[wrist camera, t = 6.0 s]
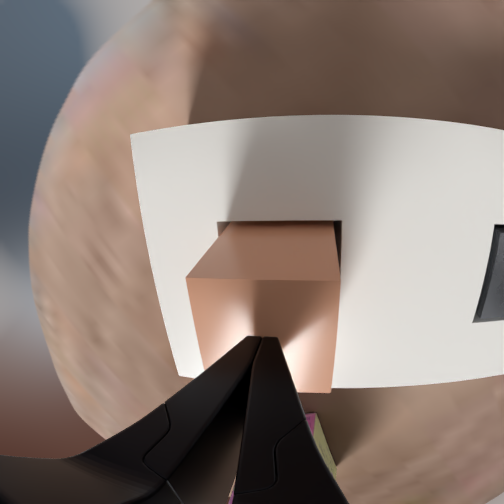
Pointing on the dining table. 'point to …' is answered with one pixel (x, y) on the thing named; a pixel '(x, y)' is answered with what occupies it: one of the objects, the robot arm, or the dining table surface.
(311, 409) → the dining table surface
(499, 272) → the metallic grey block
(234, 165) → the white rectangular block
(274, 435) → the robot arm
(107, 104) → the dining table surface
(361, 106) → the dining table surface
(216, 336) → the peach square block
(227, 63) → the dining table surface
